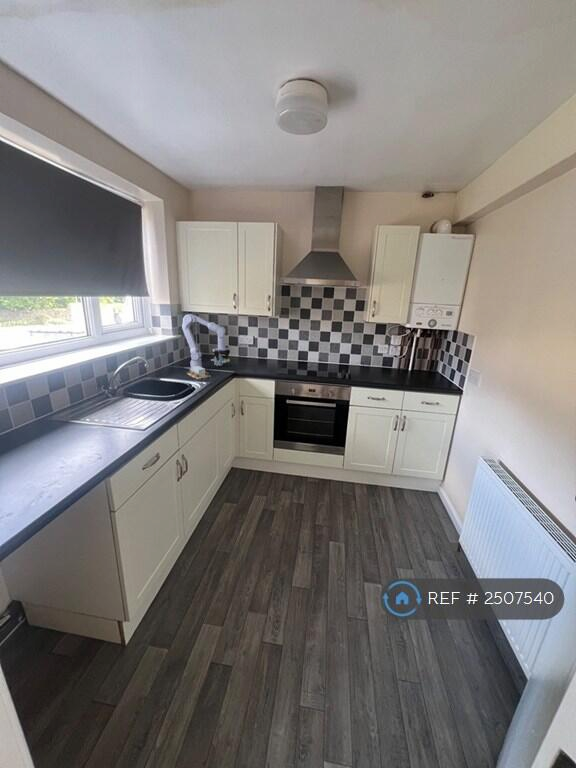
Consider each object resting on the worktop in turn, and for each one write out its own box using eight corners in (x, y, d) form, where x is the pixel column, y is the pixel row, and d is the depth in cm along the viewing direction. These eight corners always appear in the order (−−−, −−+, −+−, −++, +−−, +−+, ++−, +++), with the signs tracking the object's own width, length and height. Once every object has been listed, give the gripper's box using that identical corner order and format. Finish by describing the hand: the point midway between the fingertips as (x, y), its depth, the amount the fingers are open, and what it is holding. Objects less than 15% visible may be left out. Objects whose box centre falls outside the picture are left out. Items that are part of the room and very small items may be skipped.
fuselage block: (192, 373, 227) (192, 366, 226) (199, 372, 231) (198, 366, 229) (198, 376, 219) (198, 369, 218) (205, 375, 222) (205, 368, 221)
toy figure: (207, 366, 257) (206, 348, 253) (215, 364, 266) (214, 347, 262) (222, 368, 249) (222, 351, 245) (230, 366, 258) (230, 349, 254)
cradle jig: (187, 374, 228) (186, 370, 228) (200, 372, 235) (200, 368, 234) (197, 379, 215) (196, 375, 214) (211, 377, 222) (211, 373, 221)
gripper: (215, 344, 227) (215, 361, 230) (232, 342, 236) (232, 359, 239) (211, 342, 232) (211, 360, 236) (228, 341, 241) (228, 358, 245)
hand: (222, 359), depth 238 cm, fingers open, 7 cm apart
